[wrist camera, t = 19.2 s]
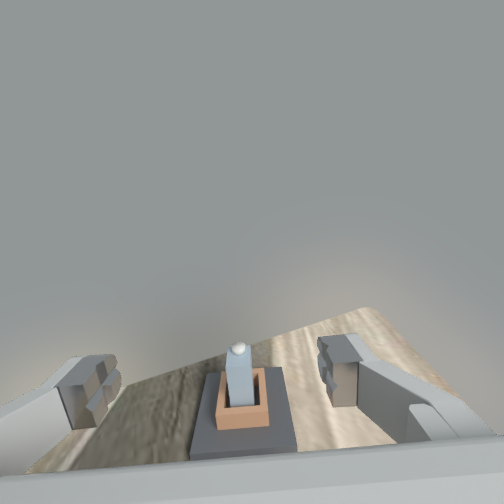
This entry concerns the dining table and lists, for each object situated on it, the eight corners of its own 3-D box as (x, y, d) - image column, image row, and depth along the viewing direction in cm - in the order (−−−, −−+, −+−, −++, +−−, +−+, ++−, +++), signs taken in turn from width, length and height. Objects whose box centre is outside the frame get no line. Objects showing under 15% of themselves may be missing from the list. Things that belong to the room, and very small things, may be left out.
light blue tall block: (232, 416, 40) (224, 362, 37) (233, 392, 45) (227, 342, 42) (255, 414, 40) (249, 359, 37) (254, 390, 45) (249, 340, 42)
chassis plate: (190, 461, 35) (186, 439, 34) (208, 378, 50) (205, 361, 49) (297, 453, 35) (296, 429, 34) (281, 372, 50) (280, 354, 49)
